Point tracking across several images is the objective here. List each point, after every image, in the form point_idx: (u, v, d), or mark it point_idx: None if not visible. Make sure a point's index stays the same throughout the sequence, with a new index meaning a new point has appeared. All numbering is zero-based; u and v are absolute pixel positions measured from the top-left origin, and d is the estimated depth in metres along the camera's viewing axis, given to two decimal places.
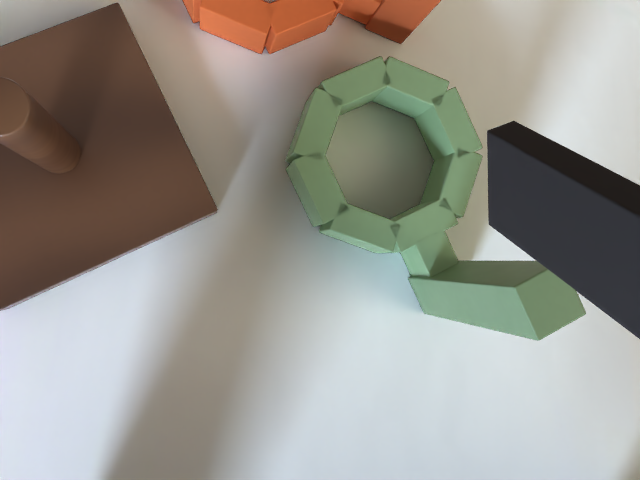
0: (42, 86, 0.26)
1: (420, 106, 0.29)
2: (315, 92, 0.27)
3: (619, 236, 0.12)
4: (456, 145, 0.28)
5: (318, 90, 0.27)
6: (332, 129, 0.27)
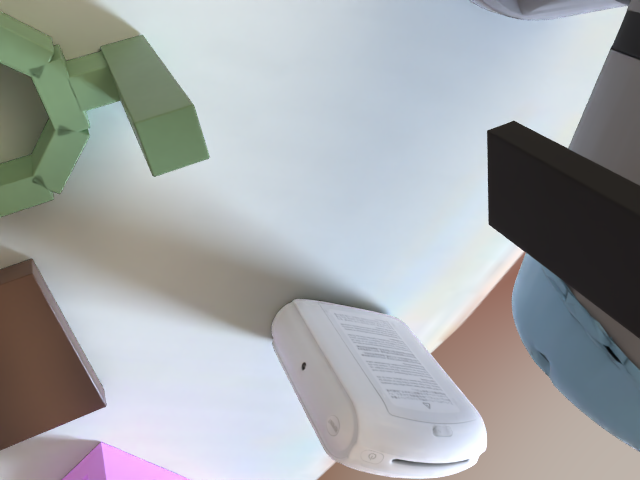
0: None
1: None
2: None
3: (619, 236, 0.12)
4: None
5: None
6: None
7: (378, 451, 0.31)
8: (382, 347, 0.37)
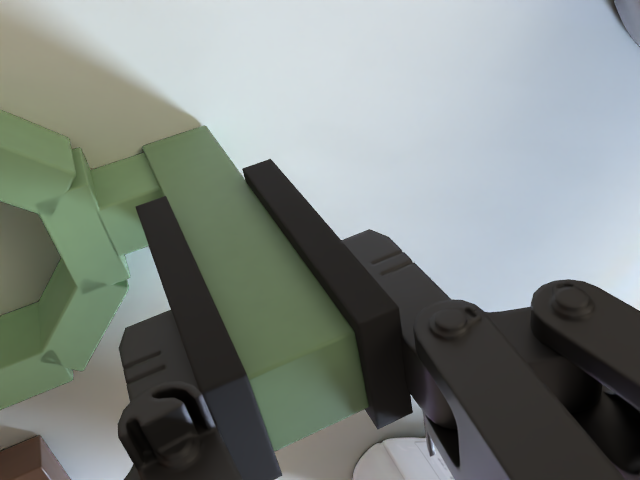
0: None
1: None
2: None
3: None
4: None
5: None
6: None
7: None
8: None
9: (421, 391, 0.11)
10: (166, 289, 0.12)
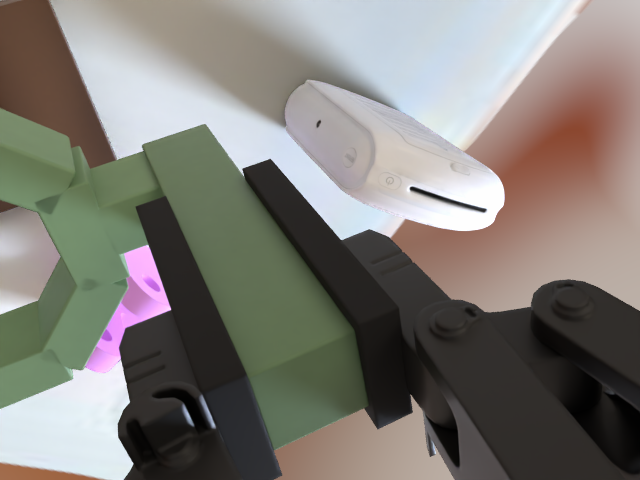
0: None
1: None
2: None
3: None
4: None
5: None
6: None
7: (396, 173, 0.30)
8: (397, 117, 0.37)
9: (421, 391, 0.11)
10: (166, 289, 0.12)
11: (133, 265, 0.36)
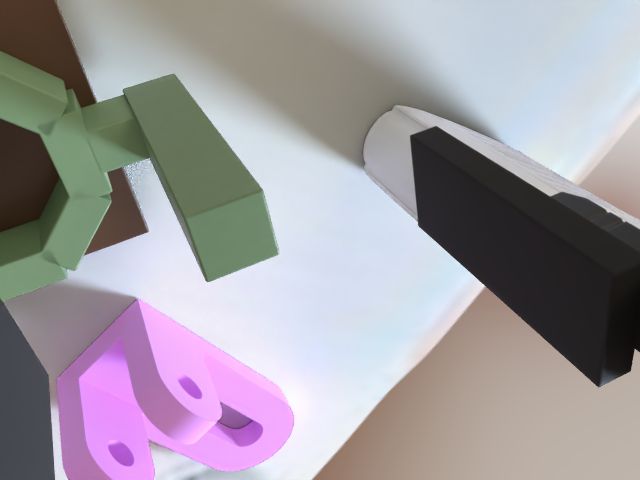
0: None
1: None
2: None
3: (518, 238, 0.12)
4: None
5: None
6: None
7: None
8: (522, 158, 0.27)
9: None
10: None
11: (165, 362, 0.26)
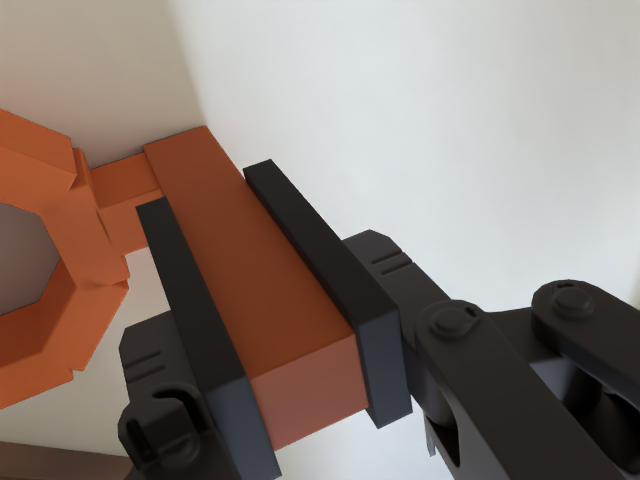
0: None
1: None
2: None
3: None
4: None
5: None
6: None
7: None
8: None
9: (421, 391, 0.11)
10: (166, 289, 0.12)
11: None
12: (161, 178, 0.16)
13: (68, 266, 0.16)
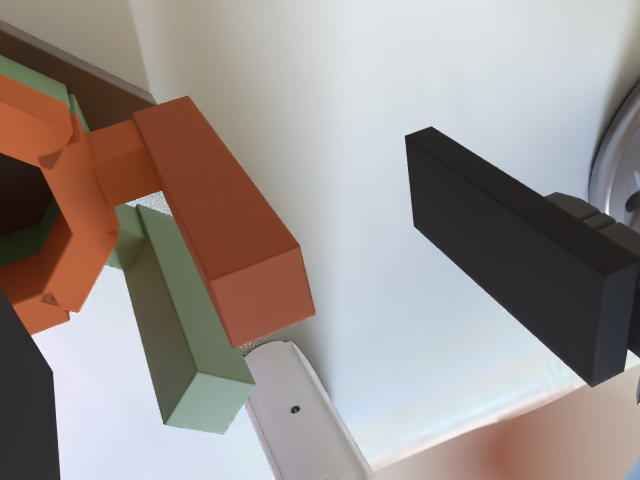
0: None
1: None
2: None
3: (511, 238, 0.12)
4: None
5: None
6: None
7: None
8: None
9: None
10: None
11: None
12: (147, 138, 0.18)
13: (65, 215, 0.19)
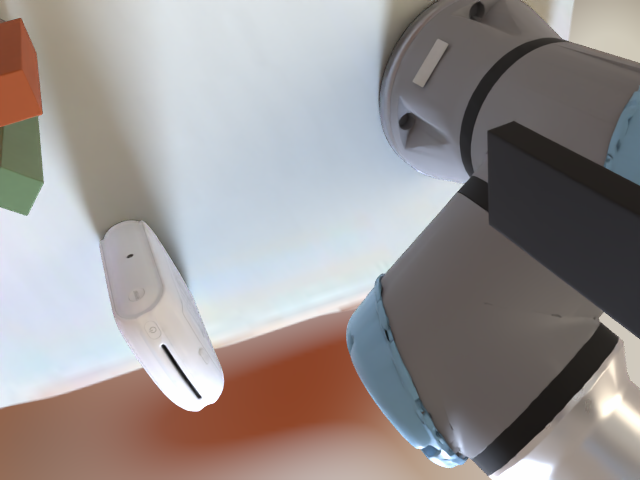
0: None
1: None
2: None
3: (619, 236, 0.12)
4: None
5: None
6: None
7: (161, 328, 0.37)
8: (185, 291, 0.44)
9: None
10: None
11: None
12: None
13: None
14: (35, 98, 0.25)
